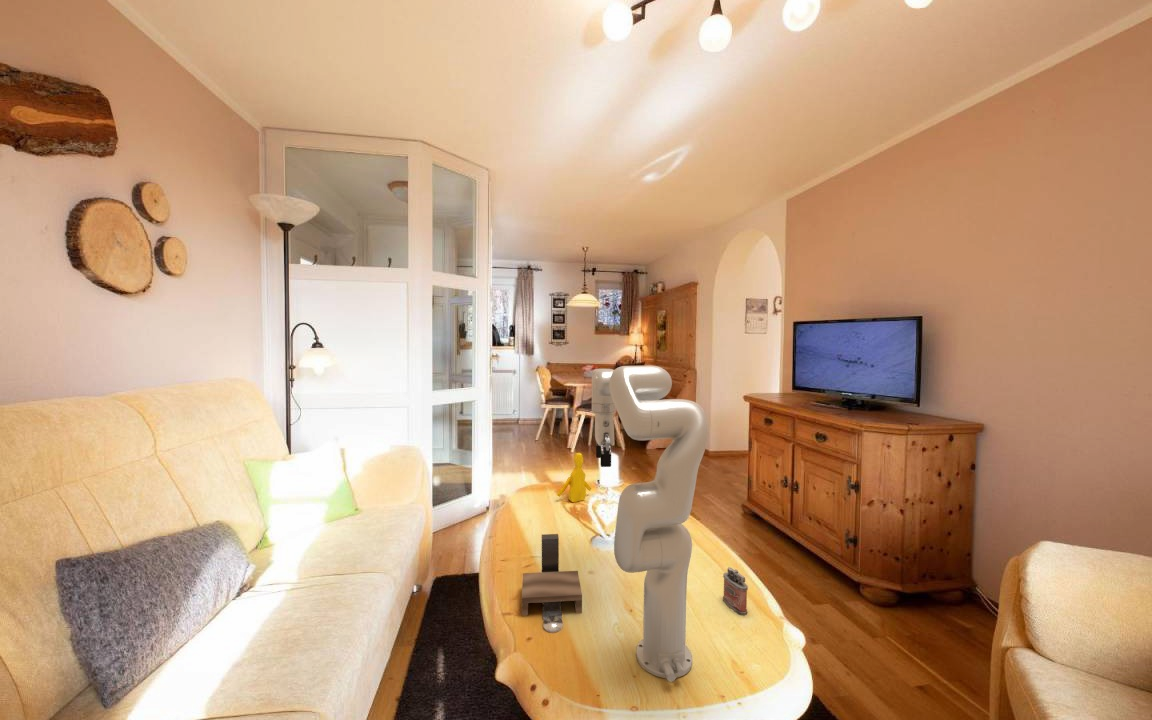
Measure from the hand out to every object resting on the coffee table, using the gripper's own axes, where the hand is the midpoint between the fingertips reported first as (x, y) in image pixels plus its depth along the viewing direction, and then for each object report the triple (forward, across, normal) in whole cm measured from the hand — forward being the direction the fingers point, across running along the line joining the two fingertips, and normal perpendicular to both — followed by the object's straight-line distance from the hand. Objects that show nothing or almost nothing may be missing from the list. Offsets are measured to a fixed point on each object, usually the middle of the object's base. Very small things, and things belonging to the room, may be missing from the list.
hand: (603, 462), depth 137 cm
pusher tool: (+34, -15, +17) cm, 41 cm away
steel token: (+35, -27, +17) cm, 47 cm away
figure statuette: (+34, +58, +3) cm, 68 cm away
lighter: (+34, -23, -33) cm, 53 cm away
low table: (+34, -16, +17) cm, 41 cm away
